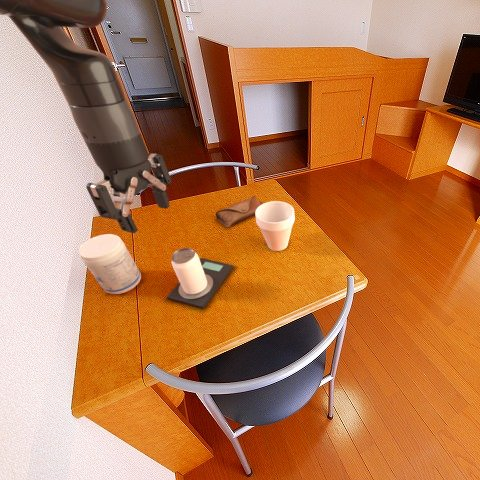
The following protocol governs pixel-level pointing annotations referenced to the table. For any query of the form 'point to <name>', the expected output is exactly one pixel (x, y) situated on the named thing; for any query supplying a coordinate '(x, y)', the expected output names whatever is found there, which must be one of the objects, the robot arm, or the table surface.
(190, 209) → the table surface
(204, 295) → the scale
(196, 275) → the can
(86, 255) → the supplement tub
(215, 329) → the table surface
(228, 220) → the sunglasses case
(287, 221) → the cup
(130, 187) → the robot arm
